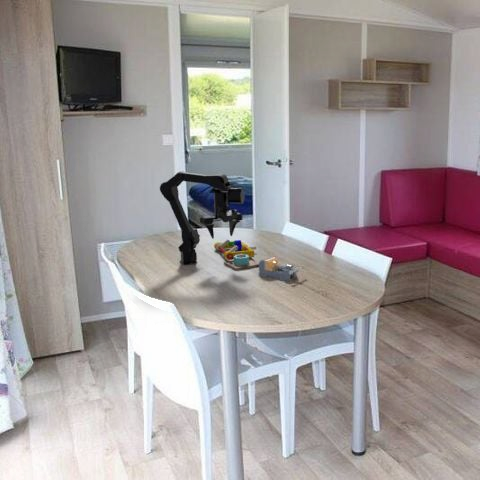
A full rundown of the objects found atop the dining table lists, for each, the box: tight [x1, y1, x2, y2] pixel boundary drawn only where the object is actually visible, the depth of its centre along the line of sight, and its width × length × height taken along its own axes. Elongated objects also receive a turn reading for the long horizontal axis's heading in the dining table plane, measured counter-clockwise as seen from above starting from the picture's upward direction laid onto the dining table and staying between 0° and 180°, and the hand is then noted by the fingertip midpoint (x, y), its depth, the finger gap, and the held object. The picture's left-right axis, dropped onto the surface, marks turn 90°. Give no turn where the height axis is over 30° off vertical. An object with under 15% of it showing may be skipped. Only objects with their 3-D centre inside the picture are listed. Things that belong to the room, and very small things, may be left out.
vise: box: [258, 256, 306, 282], centre depth 225 cm, size 18×10×7 cm, turn 51°
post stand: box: [223, 254, 259, 271], centre depth 242 cm, size 12×12×5 cm
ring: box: [233, 255, 250, 265], centre depth 242 cm, size 6×6×3 cm
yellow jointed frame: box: [213, 238, 257, 261], centre depth 259 cm, size 18×6×30 cm
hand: (222, 237), depth 241 cm, fingers open, 9 cm apart
